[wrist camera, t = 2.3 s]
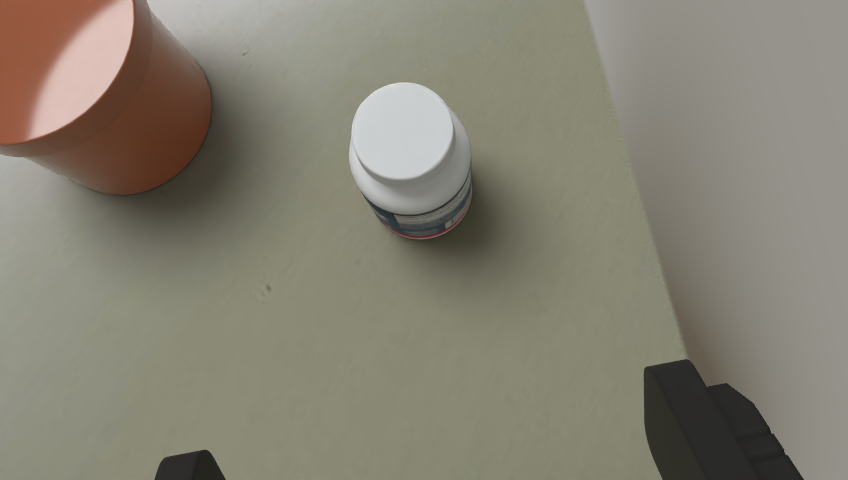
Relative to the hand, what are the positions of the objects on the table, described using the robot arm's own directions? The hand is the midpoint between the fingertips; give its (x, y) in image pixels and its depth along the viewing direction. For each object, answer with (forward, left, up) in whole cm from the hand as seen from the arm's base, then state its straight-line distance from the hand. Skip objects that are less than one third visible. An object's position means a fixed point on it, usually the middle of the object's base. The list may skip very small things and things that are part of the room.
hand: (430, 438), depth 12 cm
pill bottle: (+9, -5, -20) cm, 23 cm away
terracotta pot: (+23, +4, -20) cm, 31 cm away
